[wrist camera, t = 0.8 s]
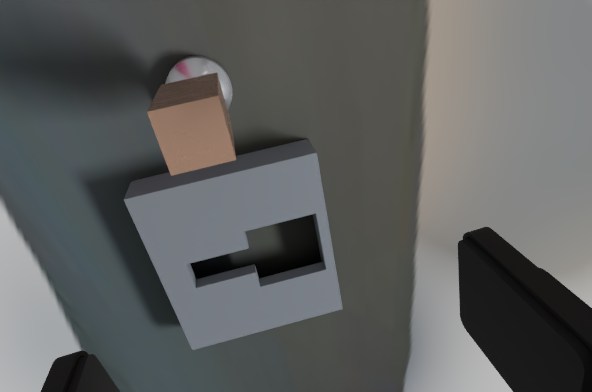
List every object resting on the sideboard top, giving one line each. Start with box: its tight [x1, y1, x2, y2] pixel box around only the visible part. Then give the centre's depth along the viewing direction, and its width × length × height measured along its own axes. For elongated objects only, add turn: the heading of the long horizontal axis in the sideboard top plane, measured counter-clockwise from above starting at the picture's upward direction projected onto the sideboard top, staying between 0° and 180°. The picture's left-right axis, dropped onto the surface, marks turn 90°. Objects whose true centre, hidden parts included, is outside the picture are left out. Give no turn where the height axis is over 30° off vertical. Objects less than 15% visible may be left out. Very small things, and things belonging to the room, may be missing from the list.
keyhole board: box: [124, 139, 343, 350], centre depth 36 cm, size 17×15×3 cm
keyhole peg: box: [147, 55, 236, 176], centre depth 26 cm, size 5×5×11 cm
